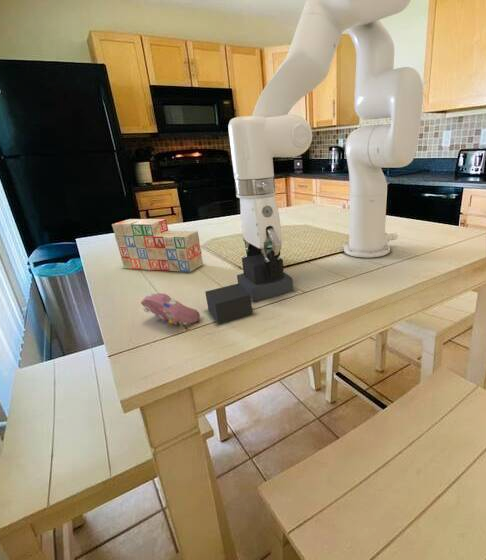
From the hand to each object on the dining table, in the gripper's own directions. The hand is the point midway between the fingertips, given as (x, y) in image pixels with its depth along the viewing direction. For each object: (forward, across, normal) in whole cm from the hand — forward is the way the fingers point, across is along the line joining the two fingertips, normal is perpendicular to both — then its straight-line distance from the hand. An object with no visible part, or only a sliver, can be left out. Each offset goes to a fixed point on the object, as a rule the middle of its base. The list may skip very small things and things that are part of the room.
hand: (263, 272), depth 71 cm
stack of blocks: (+4, +31, +16) cm, 35 cm away
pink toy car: (+4, -3, +20) cm, 21 cm away
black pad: (+4, -6, +10) cm, 12 cm away
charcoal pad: (+1, 0, 0) cm, 1 cm away
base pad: (+4, 0, 0) cm, 4 cm away
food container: (+4, +15, -7) cm, 17 cm away
